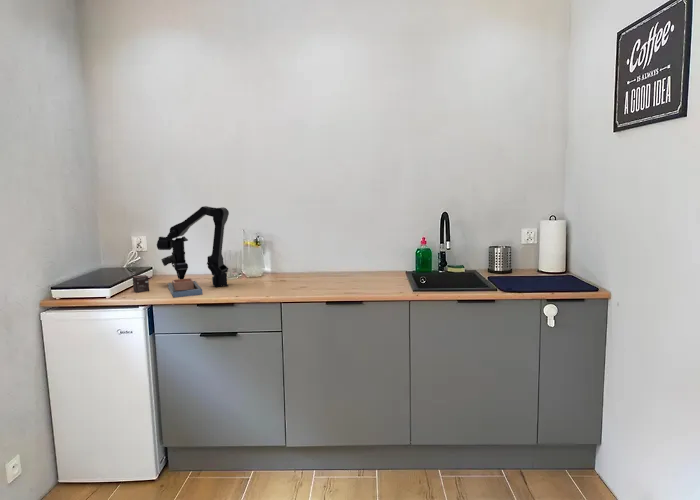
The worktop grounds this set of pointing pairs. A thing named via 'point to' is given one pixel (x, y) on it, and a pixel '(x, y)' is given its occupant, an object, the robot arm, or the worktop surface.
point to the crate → (183, 284)
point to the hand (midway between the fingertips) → (180, 280)
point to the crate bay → (185, 291)
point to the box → (140, 283)
